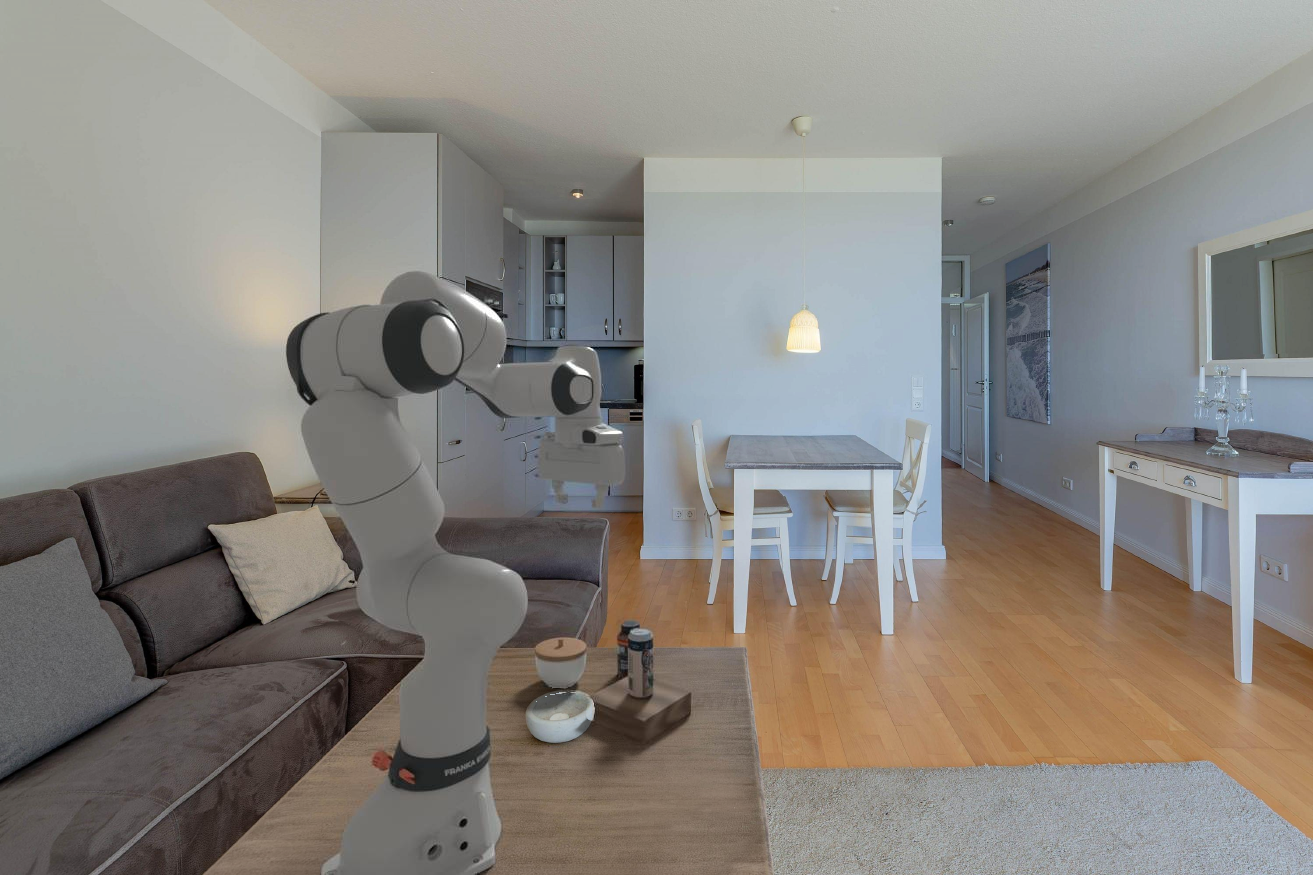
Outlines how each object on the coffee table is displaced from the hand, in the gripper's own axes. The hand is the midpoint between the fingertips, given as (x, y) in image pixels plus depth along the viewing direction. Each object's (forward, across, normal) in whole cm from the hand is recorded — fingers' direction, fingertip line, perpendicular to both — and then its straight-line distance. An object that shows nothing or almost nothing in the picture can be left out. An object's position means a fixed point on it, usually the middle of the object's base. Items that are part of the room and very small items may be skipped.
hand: (579, 505), depth 124 cm
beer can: (+35, +11, +4) cm, 37 cm away
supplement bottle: (+39, -2, +17) cm, 43 cm away
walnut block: (+39, +11, +4) cm, 41 cm away
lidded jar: (+39, -11, +5) cm, 41 cm away
